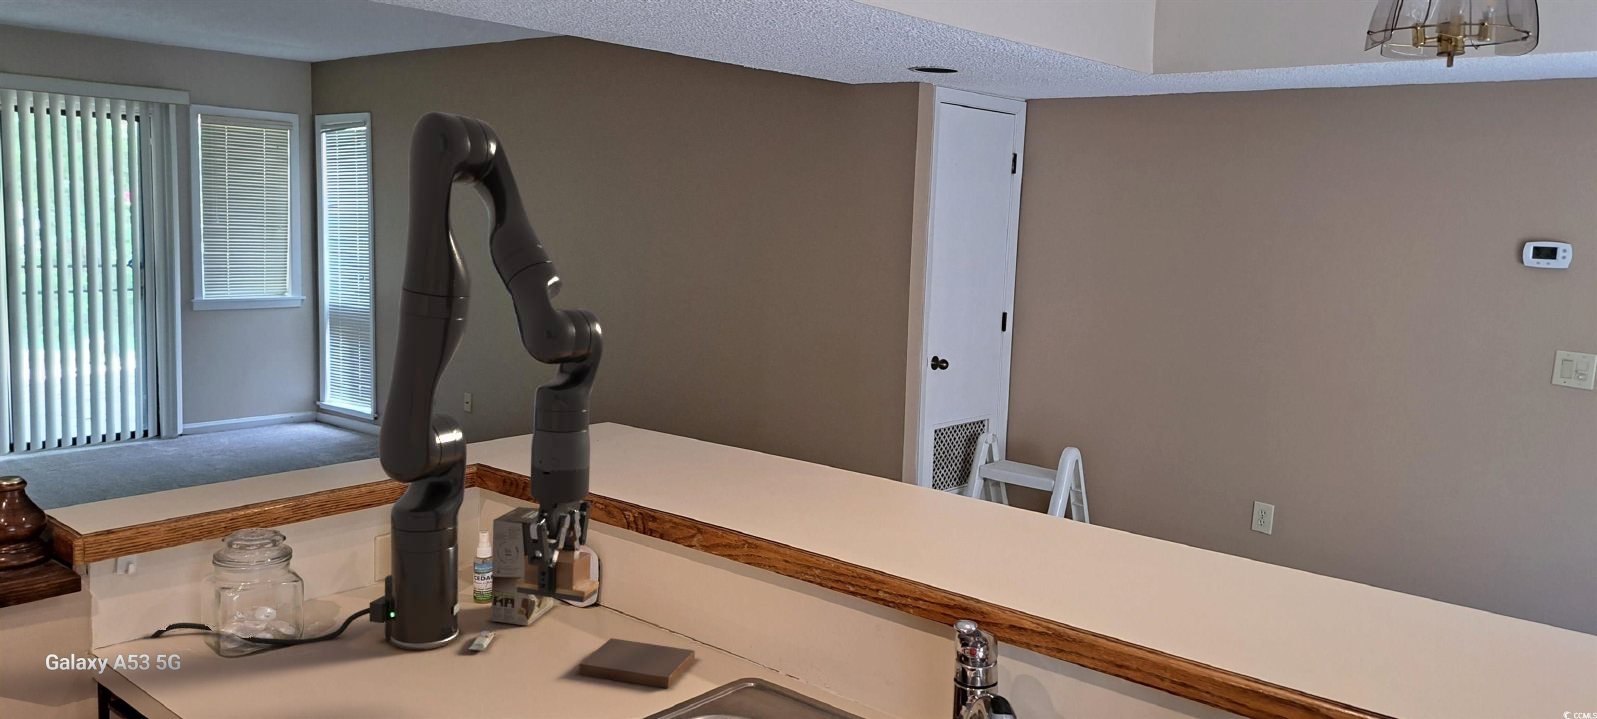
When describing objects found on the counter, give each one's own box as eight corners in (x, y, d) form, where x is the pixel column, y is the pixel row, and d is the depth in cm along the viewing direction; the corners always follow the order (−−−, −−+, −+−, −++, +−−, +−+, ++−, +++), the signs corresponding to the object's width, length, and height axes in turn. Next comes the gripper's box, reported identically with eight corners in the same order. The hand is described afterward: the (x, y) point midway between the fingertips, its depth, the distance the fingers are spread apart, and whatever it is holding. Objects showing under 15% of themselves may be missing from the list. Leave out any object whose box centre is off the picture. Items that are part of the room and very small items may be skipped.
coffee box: (529, 626, 162) (530, 523, 160) (490, 621, 163) (490, 519, 161) (554, 606, 171) (556, 508, 169) (517, 602, 172) (518, 504, 170)
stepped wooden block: (513, 593, 140) (514, 554, 139) (532, 581, 145) (533, 544, 144) (582, 604, 137) (584, 565, 137) (600, 591, 142) (601, 554, 142)
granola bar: (484, 653, 151) (484, 646, 151) (468, 652, 151) (468, 645, 151) (497, 635, 158) (497, 628, 157) (481, 634, 158) (481, 627, 157)
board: (579, 673, 145) (579, 663, 145) (610, 647, 155) (611, 637, 155) (668, 688, 142) (668, 677, 142) (694, 660, 152) (695, 650, 152)
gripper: (560, 448, 147) (557, 567, 149) (505, 469, 133) (503, 600, 135) (610, 454, 145) (606, 574, 147) (560, 475, 131) (556, 608, 133)
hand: (557, 586), depth 141 cm, fingers closed on stepped wooden block, 5 cm apart
